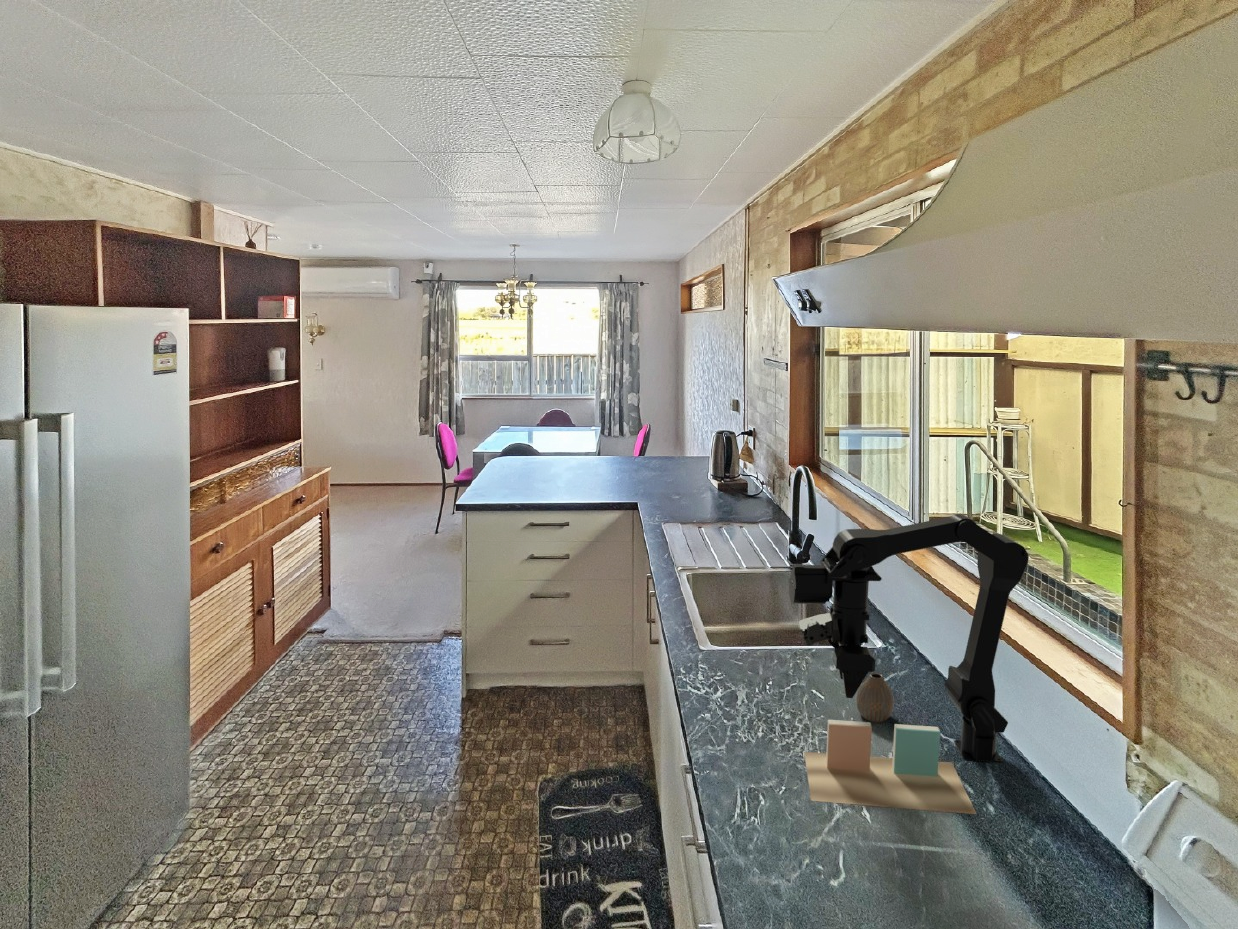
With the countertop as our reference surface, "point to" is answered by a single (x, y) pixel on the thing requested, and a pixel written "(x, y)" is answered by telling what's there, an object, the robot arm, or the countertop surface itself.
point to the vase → (875, 699)
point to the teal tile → (916, 750)
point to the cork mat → (887, 786)
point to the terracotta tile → (848, 745)
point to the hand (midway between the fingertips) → (846, 688)
